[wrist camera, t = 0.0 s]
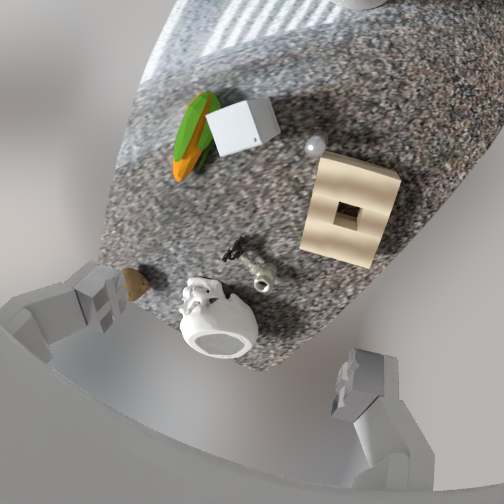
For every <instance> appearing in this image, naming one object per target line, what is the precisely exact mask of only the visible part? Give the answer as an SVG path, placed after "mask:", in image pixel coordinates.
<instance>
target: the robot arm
mask: <svg viewBox="0 0 504 504" xmlns="http://www.w3.org/2000/svg"><path fill="white" fill-rule="evenodd" d="M329 1H331V2H333V3H335V4H337V5H339V6H342V7H345V8H349V9H356V10H365V9H372V8H375V7H378V6H380V5H382V4H383V3H385V2H386V1H387V0H329ZM125 282H126V281H125V276H124V274H122V273H120V272H118V271H115V270H113V269H111V268H109V267H106V266H104V265H102V264H99V263H97V262H95V261H89V262H88V263H86V264H85V265H84V266H83V267H82V268H80V269H79V270H78V271H77V272H76V273H75V274H73V275H72V276H71V277H70V278H69V279H68V280H67V281H65V282H64V283H61V282H60V283H57V284H53V285H50V286H47V287H44V288H41V289H37V290H35V291H31V292H28V293H25V294H21V295H19V296H15V297H12V298H11V299H10V300H9V301H8V302H7V303H6V304H5V305H4V306H3V307H2V308H1V309H0V504H504V483H501V484H496V485H490V486H484V487H477V488H468V489H459V490H447V491H433V483H434V460H435V457H434V456H435V455H434V452H433V451H432V449H431V447H430V445H429V444H428V442H427V440H426V439H425V437H424V435H423V433H422V432H421V430H420V428H419V427H418V425H417V423H416V422H415V420H414V418H413V417H412V415H411V413H410V412H409V410H408V408H407V407H406V405H405V403H404V402H403V401H402V400H399V380H398V379H399V377H398V360H397V358H396V357H392V356H387V355H382V354H379V353H374V352H369V351H365V350H361V349H357V348H353V349H352V350H351V352H350V354H349V357H348V362H345V363H344V364H343V365H342V367H341V369H340V372H339V374H338V377H337V381H336V387H335V390H336V392H337V393H338V394H337V395H336V397H335V398H334V400H333V404H332V410H331V417H332V418H336V419H341V420H345V421H349V422H354V426H355V429H356V431H357V434H358V436H359V439H360V442H361V444H362V447H363V450H364V452H365V455H366V458H367V460H368V463H369V466H370V468H369V469H367V470H365V471H364V472H362V473H360V474H358V475H357V476H355V477H354V481H353V486H352V488H347V487H339V486H333V485H326V484H320V483H315V482H309V481H303V480H299V479H295V478H290V477H286V476H281V475H277V474H273V473H269V472H266V471H262V470H258V469H255V468H252V467H248V466H245V465H242V464H238V463H235V462H232V461H229V460H226V459H223V458H221V457H218V456H215V455H212V454H210V453H207V452H204V451H202V450H199V449H197V448H194V447H191V446H189V445H187V444H184V443H182V442H180V441H177V440H175V439H173V438H170V437H168V436H166V435H164V434H162V433H160V432H158V431H155V430H153V429H151V428H149V427H147V426H145V425H143V424H141V423H139V422H137V421H135V420H134V419H131V418H130V417H128V416H126V415H124V414H123V413H121V412H119V411H117V410H115V409H114V408H112V407H110V406H108V405H106V404H105V403H103V402H102V401H100V400H99V399H97V398H95V397H94V396H92V395H90V394H89V393H87V392H86V391H84V390H83V389H81V388H79V387H78V386H77V385H75V384H74V383H72V382H71V381H69V380H68V379H66V378H65V377H63V376H62V375H61V374H59V373H58V372H57V371H55V370H54V369H53V368H51V367H50V366H49V365H47V364H48V362H49V361H50V360H51V359H52V358H53V354H52V352H51V350H50V348H49V346H48V345H50V344H52V343H54V342H56V341H58V340H60V339H62V338H64V337H67V336H68V335H71V334H73V333H75V332H77V331H79V330H81V329H83V328H85V327H87V325H88V326H89V327H91V328H93V329H95V330H97V331H99V332H101V333H105V332H106V330H107V329H108V328H109V327H110V326H111V325H112V324H113V322H114V317H115V316H117V315H120V314H121V313H122V312H123V311H124V310H125V308H126V305H127V303H128V291H127V290H126V288H125V287H124V284H125Z"/></svg>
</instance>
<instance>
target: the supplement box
mask: <svg viewBox="0 0 504 504" xmlns="http://www.w3.org/2000/svg"><path fill="white" fill-rule="evenodd" d="M206 119H207V121H208V124H209V127H210V129H211V132H212V135H213V137H214V140H215V143H216V146H217V149H218V152H219V155H220V157H223V156H226V155H229V154H232V153H235V152H239V151H242V150H245V149H249V148H252V147H255V146H259V145H263V144H264V143H266V142H267V141H269V140H270V139H272V138H273V137H275V136H277V135H278V134H280V133H281V131H280V128H279V125H278V122H277V119H276V116H275V113H274V110H273V107H272V104H271V101H270V99H269V97H266V98H258V99H251V100H245V101H241V102H238V103H235V104H232V105H230V106H227V107H224V108H222V109H219V110H217V111H214V112H212V113H210V114H207V115H206Z"/></svg>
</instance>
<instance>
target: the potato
mask: <svg viewBox="0 0 504 504" xmlns="http://www.w3.org/2000/svg"><path fill="white" fill-rule="evenodd" d="M120 273H122V274H124V276H125V281H126V282H125V284H124V287H125V288H126V290H127V291H128V301H130V302H132V301H135V300H137V299H138V298H140V297H141V296H142V295H143V294H144V293H145V292H146V291H147V290H148V289H149V282H148V281H147V279H146V278H145V277H144V276H143V275H142V274H141V273H139V272H138V271H137V270H135V269H132V268H125V269H123V270H122V271H121V272H120Z"/></svg>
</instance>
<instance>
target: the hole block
mask: <svg viewBox="0 0 504 504" xmlns="http://www.w3.org/2000/svg"><path fill="white" fill-rule="evenodd" d="M400 183H401V179H400V178H399V176H398V174H397V172H396V171H394V170H391V169H388V168H384V167H381V166H378V165H375V164H372V163H368V162H365V161H362V160H358V159H355V158H351V157H348V156H344V155H340V154H337V153H333V152H329V151H324V154H323V155H322V156H321V158H320V163H319V167H318V172H317V176H316V181H315V185H314V190H313V194H312V198H311V203H310V207H309V211H308V215H307V219H306V223H305V228H304V232H303V236H302V240H301V244H300V248H299V249H302V250H306V251H309V252H313V253H316V254H320V255H323V256H327V257H330V258H334V259H337V260H341V261H344V262H348V263H351V264H355V265H358V266H362V267H365V268H370V265H371V263H372V261H373V258H374V256H375V253H376V251H377V248H378V245H379V243H380V240H381V238H382V235H383V232H384V230H385V227H386V224H387V222H388V219H389V216H390V213H391V210H392V207H393V204H394V202H395V199H396V196H397V193H398V190H399V186H400ZM339 202H343V203H346V204H350V205H353V206H357V207H360V208H359V211H358V214H357V217H353V216H350V215H346V214H343V213H339V212H336V211H337V208H338V204H339Z"/></svg>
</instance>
